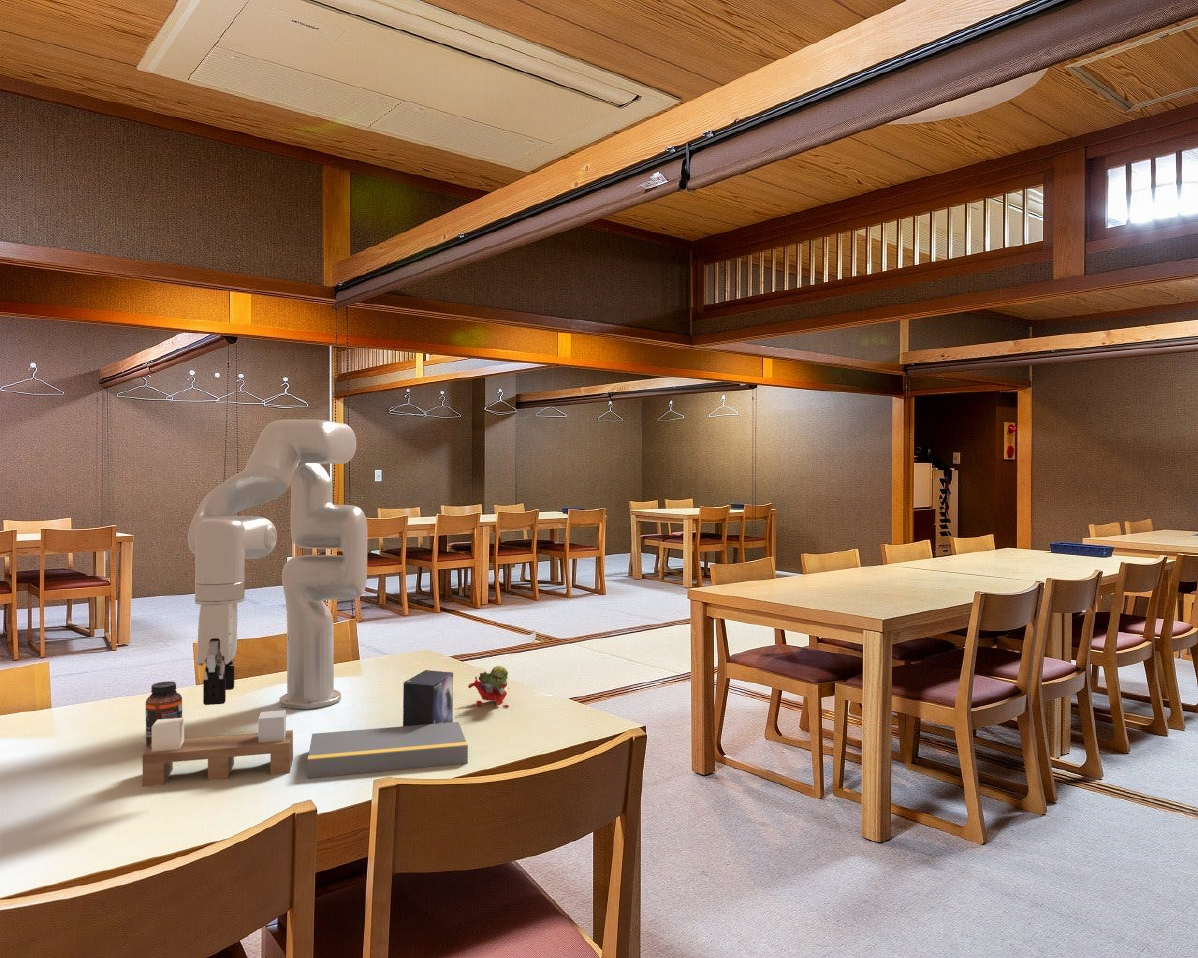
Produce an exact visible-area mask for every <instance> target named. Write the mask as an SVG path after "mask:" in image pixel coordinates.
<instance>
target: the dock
mask: <svg viewBox="0 0 1198 958" xmlns="http://www.w3.org/2000/svg"><path fill="white" fill-rule="evenodd" d="M468 749H469V745H468V743H467V740H466V738H465V735H464V733H463V730H462V727H461V724H460V722H459V721H453V722H450V723H438V724H425V725H413V726H403V725H402V726H392V727H390V726H389V727H380V728H367V729H366V728H365V729H353V730H342V731H341V730H338V731H329V732H317V733H311V737H310V745H309V750H308V756H307V779H313V778H315V779H317V778H325V777H334V776H346V775H356V774H370V773H376V772H377V773H378V771H380V772H389V771H397V770H398V771H399V770H408V769H409V770H410V769H420V768H422V769H423V768H431V767H440V766H451V765H463V764H468V763H469V762H468V761H469V755H468V754H469V750H468Z"/></svg>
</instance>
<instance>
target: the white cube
mask: <svg viewBox="0 0 1198 958" xmlns="http://www.w3.org/2000/svg"><path fill="white" fill-rule="evenodd" d="M257 721H258V722H257V723H258V729H257V731H258V732H257V733H258V743H262V742H274V741H284V739H285V736H286V731H287V710H286V709H284V710H271V711H260V714H259V717H258V720H257Z"/></svg>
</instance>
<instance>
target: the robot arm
mask: <svg viewBox="0 0 1198 958" xmlns="http://www.w3.org/2000/svg"><path fill="white" fill-rule="evenodd" d="M356 450H357V438H356V434H355V432H354V429H352V428H351V426H350V425H348V424H346V423H342V422H336V421H331V420H326V419H325V420H324V419H278V420H274V421H271V422H270V423H268V424H266V425H265V427H264V428H263V430H262V431H261V433H260V435H259V437H258V439H257V441H256V443H255V445H254V448H253V450H252V452H251V455H250V456H249V459H248V460H247V463H246V464H245V467H244V469H243V470H242V471H240V472H238V473H236V474H234V475H232V476H231V477H229V478H228V479H226V480H225V481H223V482H222V483H220V484H218V485H216V487H214V488H212V489H211V490H210V491H209V492H208V493H207V494H206V496H204V497H203V498H202V500H201V501H200V503H199V505H198V507H197V508H196V509H197V510H196V512H195V513H194V515H193V517H192V519H191V522H190V524H189V529H188V533H187V545H188V548H189V550H190V552H191V553H192V554H193V555H194V556H195V557H194V562H195V563H194V564H195V565H194V570H195V571H194V572H195V573H194V604H195V605H200V606H199V607H200V608H199V614H198V615H199V617H198V628H197V650H196V664H197V665H198V666H199V667H202V666H204V664H205V667H204V674H203V682H202V684H203V686H202V687H203V688H202V689H203V693H202V695H203V696H202V697H203V705H204V706H213V705H215V706H216V705H225V703H226V698H227V697H226V696H227V695H226V691H231V690H234V688H235V665H234V664H235V663H234V662H235V661H234V657H235V656H236V653H237V648H238V646H237V644H238V604H239V603H243V602H245V587H246V586H245V580H246V579H245V574H246V573H245V572H246V571H245V570H246V568H245V566H246V565H245V564H246V563H245V560H254V559H255V560H257V559H262V558H264V557H266V556H268V555H270V554H271V552H272V551H274V549H275V547H276V545H277V541H278V533H277V528H276V527H275V524H274V522H272V521H271V520H270V519H268V518H266V517H263V516H259V515H235V514H238V513H239V512H241V511H244V510H246V509H249V508H253V507H256V506H259V505H262V504H265V503H268V502H270V501H273V500H276V499H278V498H280V497H281V496H284V494H285V493H286V492H287V491H288V489H289V488H290V537H291V540H292V543H293V545H295V546H296V547H298V548H302V549H310V550H311V549H315V550H317V549H318V550H340V551H341V552H342V555H336V554H335V555H332V554H331V555H328V554H304V555H298V556H297V555H296V556H294V557H292V558H290V559H288V560H287V561H286V562H285V564H284V566H283V567H282V571H281V583H282V588H283V594H284V599H285V607H286V609H285V610H286V676H287V677H286V678H287V679H286V685H287V687H286V688H287V690H286V691H287V692H286V693H285V694H283V695H281V696H280V697H279V705H280V704H281V705H282V706H281V705H280V706H281V707H283V706H284V708H286V707H288V708H287V709H293V708H294V710H299V709H300V710H303V709H304V710H308V709H318V708H323V707H327V706H331V705H335V704H336V703H338V702H339V701H340V700H341V699H342V693H341V691H339V690H336V689H335V688H334V684H335V683H334V680H335V679H334V678H335V677H334V676H335V675H334V672H335V668H334V666H335V665H334V664H335V661H334V660H335V659H334V649H335V648H334V645H335V644H334V641H335V640H334V637H335V636H334V633H335V632H334V628H335V627H334V618H333V614H332V612H331V610H330V609H329V607H328V606H327V605H326V603H325V602H324V601H326V600H333V601H334V600H335V601H338V600H340V601H341V600H342V601H344V600H349V601H350V600H356V599H359V598H360V597H362V596H363V594H364V593H365V591H366V588H367V582H368V581H367V580H368V523H367V522H368V521H367V518H366V514H365V513H364V511H363V510H362V508H360V507H359V506H356V505H351V504H334V503H333V482H332V479H331V477H330V474H329V473H328V472H327V470H326V469H325V467H323V466H322V465H323V464H324V465H325V464H327V465H328V464H329V465H334V464H335V465H337V464H338V465H340V464H341V465H343V464H347V463H349V462H350V461H351V460H352V459H353V457H355V453H356Z"/></svg>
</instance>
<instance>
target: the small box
mask: <svg viewBox="0 0 1198 958" xmlns="http://www.w3.org/2000/svg"><path fill="white" fill-rule="evenodd" d="M402 684H403V689H402V690H403V691H402V693H403V694H402V695H403V699H402V702H403V703H402V726H413V725H425V724H438V723H450V722H454V721H453V720H454V719H453V718H454V717H453V716H454V715H453V714H454V713H453V712H454V710H453V709H454V704H453V703H454V702H453V701H454V697H453V696H454V672H453V671H441V670H430V669H425V670H423V671H421V672H419V673H417V674H416V675H415V676H412V677H411V678H409V679H407V680H405V681H403V683H402Z"/></svg>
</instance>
